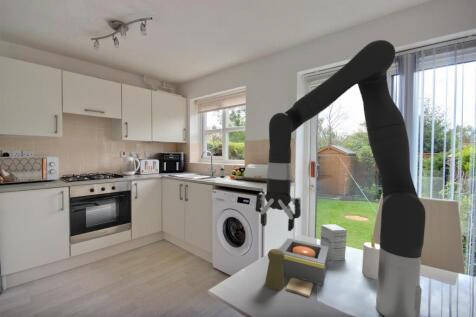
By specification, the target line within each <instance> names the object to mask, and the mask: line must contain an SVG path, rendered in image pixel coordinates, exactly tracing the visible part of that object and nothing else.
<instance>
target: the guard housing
mask: <svg viewBox="0 0 476 317" xmlns="http://www.w3.org/2000/svg"><path fill="white" fill-rule="evenodd" d="M297 246H302V247H307V248H310V249H312V250H314V251H315V258H312V257H307V256H303V255H299V254H295V253H293V248H294V247H297ZM278 250H281V251H282V252H283V253H284V260H283V262H282V266H283V275H287V276H290V277H292V278H296V277H297V278H296V279H300V278H301V279H300V280H303V281H306V282H310V283H313V284H317V285H321V286H324V283H325V278H326V275H327V270H328V264H329V259H328V251H329V247H327V246H322V245H320V244H317V243H312V242H308V241H303V240H298V239H293V238H288V237H287V239H286V240H285V241H284V242H283V244H282V245H281V246H280V247H279V249H278Z"/></svg>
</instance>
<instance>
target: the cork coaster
mask: <svg viewBox="0 0 476 317" xmlns="http://www.w3.org/2000/svg"><path fill="white" fill-rule="evenodd" d="M313 286H314V282H310V281H307V280H303V279H300V278H296V277H293V276H290V279H289V281H288V283H287V285H286V287H285V290H286V291H289V292H292V293H295V294H298V295H302V296H303V297H304V296H305V297H308V298H310V296H311V293H312V289H313Z"/></svg>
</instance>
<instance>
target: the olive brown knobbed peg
mask: <svg viewBox="0 0 476 317" xmlns="http://www.w3.org/2000/svg"><path fill="white" fill-rule="evenodd" d="M267 259H268V265H267V270H266V275H265V280H264V285H265V287H267V288H268V289H270V290H272V291H279V290H280V291H281V290H283V289H284V287H285V282H284V281H285V280H284V274H283V266H282V262H283V260H284V253H283V252H282V251H281V250H279V249H278V248H272V249H270V250H269V251H268V252H267Z"/></svg>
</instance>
